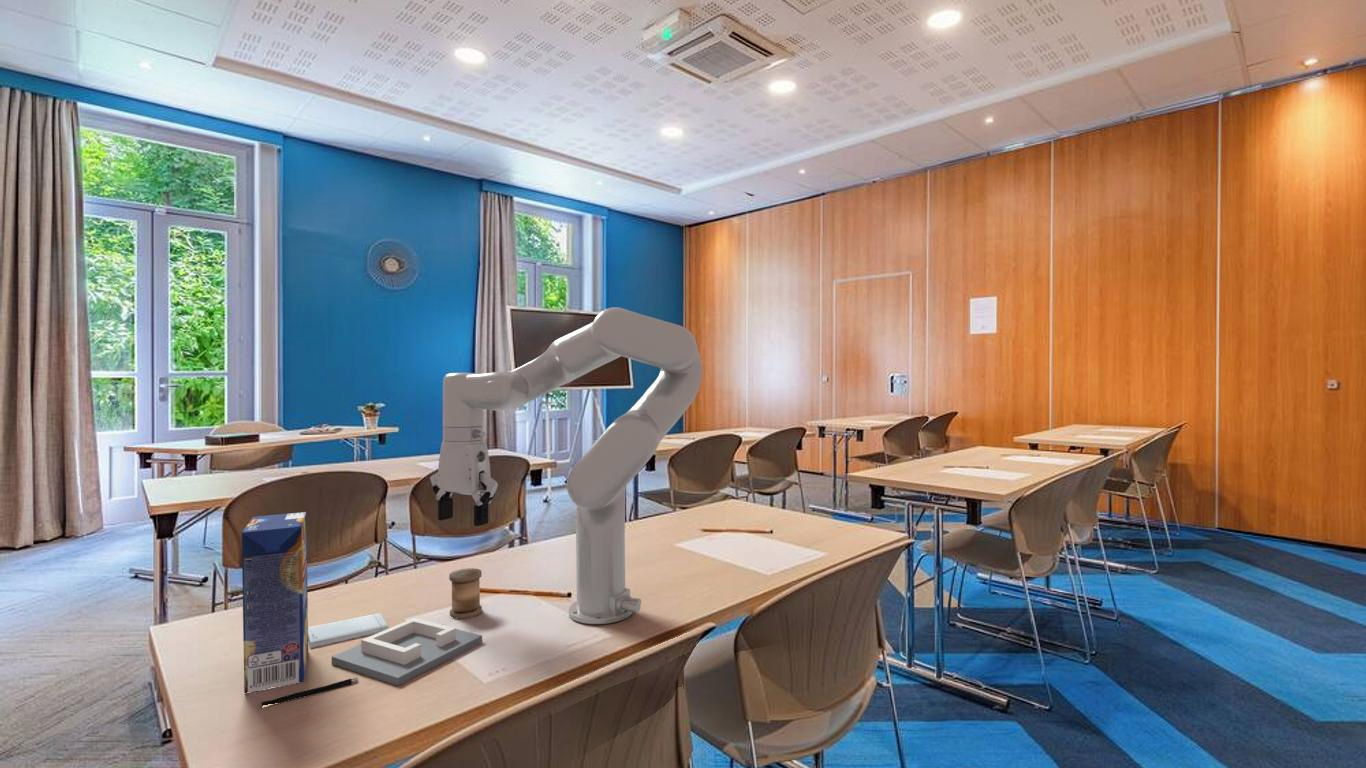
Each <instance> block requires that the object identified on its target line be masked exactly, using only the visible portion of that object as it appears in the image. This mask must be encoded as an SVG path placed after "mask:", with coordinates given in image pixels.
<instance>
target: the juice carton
mask: <svg viewBox="0 0 1366 768" xmlns="http://www.w3.org/2000/svg"><path fill="white" fill-rule="evenodd" d="M307 529H308V528H307V511H302V512H301V511H300V512H292V513H282V514H281V513H279V514H272V515H271V514H269V515H259V516H253V517H252V518H251V519H250V520H249V522H248V523H247V524H246V526H245V528H244V529H243V530H242V532H241V560H242V561H241V568H242V571H241V574H242V575H241V576H242V580H241V581H242V625H243V626H242V628H243V630H242V632H243V634H242V635H243V637H242V639H243V641H242V642H243V691H244V692H243V693H247V692H254V691H259V690H263V689H268V688H271V687H279V686H283V687H285V686H284V685H288V686H291V684H293V685H297V684H296V683H298V684H301V683H304V681H305V677H306V670H307V664H308V663H307V662H308V659H309V658H308V657H309V643H308V627H309V614H308V613H309V612H308V611H309V609H308V607H309V605H308V604H309V603H308V601H309V600H308V599H309V598H308V547H307V546H308V544H307V543H308V537H307V536H308V531H307ZM279 688H280V687H279ZM259 692H260V691H259ZM254 693H255V692H254Z"/></svg>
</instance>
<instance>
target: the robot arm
mask: <svg viewBox="0 0 1366 768" xmlns="http://www.w3.org/2000/svg"><path fill="white" fill-rule="evenodd" d="M621 357H623V358H627V359H629V360H633V361H636V362H639V363H643V364H647V365H650V366H652V367H657V368H659V369H660V370H659V374H658V376H657V378H656V379H655V380H654V382H653V383H652V384H651V385H650V386H649V387H648V388H647V390H646V391H645V392H643V395H642V396H641V397H640V398H639V399H638V400H637V401H636V402H635V403H634V405H633V406H632V407H631V408H630V409H628V411H627V412H625V413H624V414H622V415H620V416H619V417H617V418H616V419H614V420H613V422H612V423H610V425H609V426H608V427H607V428H606V429H605V430H604V432H603V433H602V434H601V435H600V436H599V437H598V438H597V439H596V441H594V443H593V444H592V445H591V446H590V447H589V448H588V449H587V450H586V452H585V453H584V454H583V455H582V456H581V458H580V459H579V460H578V461H577V462H576V463H575V464H574V465H573V467H572V468H571V470H570V471H569V473H568V476H567V480H566V490H567V493H568V497H569V499H570V501H572V503H573V504H575V506H576V514H575V515H576V516H575V518H576V519H575V520H576V521H575V526H576V527H575V531H576V533H575V541H576V542H575V547H576V548H575V549H576V550H575V554H576V558H575V559H576V560H575V561H576V562H575V563H576V564H575V566H576V601H574V602H573V603H572V604H571V605H570V606H569V608H568V615H569V617H570V619H572V620H573V621H574V622H577V623H581V624H587V625H607V624H611V623H612V624H613V623H617V622H620V621H623V620H625V619H627V618H629V617H630V616H631V615H632V614H634V613H635V614H639V612H640V611H641V605H642V599H641V598H639V597H638V598H637V597H632V596H631V588H627V587H626V541H625V540H626V535H625V533H626V521H625V520H626V491H627V490H626V489H627V486H628V485H629V484H630V482H631V481H632V480H634V478H635V477H636V476H637V474H638V473H639V472H640V471H641V470H642V469H643V468H644V467H645V466H646V464H647V463H648V462H649V461H650V459H651V458H652V457H653V455H654V454H655V453H656V451H657V449H658V447H659V445H660V443H661V441H662V440H663V439H664V437H665V436H666V435H667V434H668V433H669V432H670V430H671V429H672V428H673V427H674V426H675V425H676V423H677V422H678V421H679V420H680V419H681V417H682V416H683V415H684V413H685V412H686V411H687V410H688V408H689V407H690V406H691V405H692V403H693V401H695V398H696V396H697V394H698V393H699V390H700V387H701V383H702V378H703V363H702V358H701V355H700V352H699V349H698V344H697V341H696V338H695V336H694V335H693V333H692V332H691V331H690V330H689V329H687V328H686V327H684V326H682V325H679V324H676V323H674V322H669V321H665V320H662V319H659V318H655V317H651V316H648V315H646V314H641V313H638V312H636V311H632V310H629V309H626V308H622V307H615V306H613V307H608V308H606V309H603V310H602V311H600V312H599V313H598V314H597V315H596V317H595V318H594V320H593V321H592V322H590V323H589V324H586V325H584V326H582V327H580V328H578V329H576V330H574V331H572V332H569V333H567V334H565V335H563V336H561V337H559V338H557V339H555V340H554V341H553V342H552V343H551V344H550V345H549V346H548V348H547V349H546V351H545V352H543V353H542V354H541V355H539V356H538V357H536V358H534V359H533V360H531V361H528V362H527V363H525V364H523V365H522V366H519V367H517V368H514V369H513V370H510V371H492V372H487V373H475V372H450V373H446V374H445V376H444V377H443V380H442V442H441V444H440V445H441V446H440V450H439V451H440V452H439V458H438V471H437V472H436V473H433V475H431V476H430V477H429V480H430V483H431V486H432V491H433V493H434V494H435V500H437V520H438V521H445V520H448V519H453V516H454V500H453V497H452V495H453V494H459V495H460V494H461V495H467V496H471V497H472V499H473V500H474V502H475V504H476V505H473V526H474V527H480V526H484V525H487V524H488V523H489V504H491V503H492V500H493V498H494V497H495V495H496V492H497V489H498V486H499V483H498V481H496V480H495V479H494V478H493V477H491V464H490V463H491V462H490V456H489V455H490V454H489V449H488V446H487V442H484V438H485V436H486V432H485V431H484V410H488V411H495V412H496V411H497V412H499V411H500V412H501V411H506V410H511V409H515V408H519V407H521V406H523V405H525V404H527V403H530V402H533V401H534V400H536V399H537V398H540V397H541V396H544V395H546V394H548V393H550V392H552V391H554V390H555V389H557V388H560V387H562V386H565V385H566V384H569V383H571V382H572V381H574V380H577V379H579V378H580V377H582V376H585V375H587V374H588V373H590V372H592V371H594V370H596V369H598V368H600V367H602V366H604V365H606V364H608V363H611V362H612V361H614V360H616V359H619V358H621Z"/></svg>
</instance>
